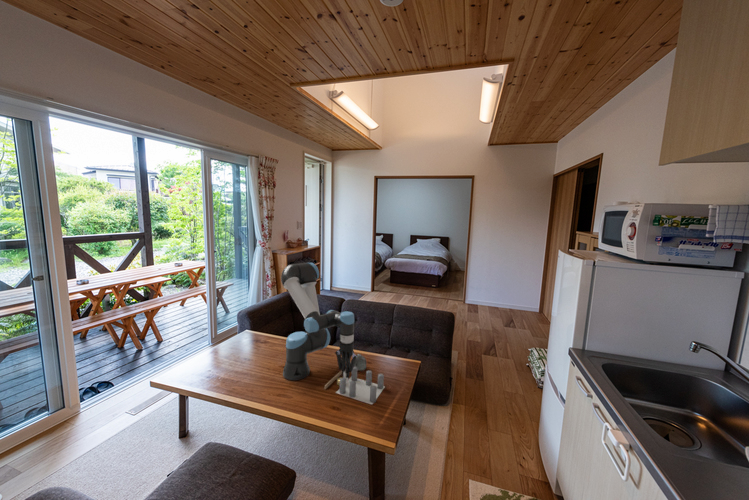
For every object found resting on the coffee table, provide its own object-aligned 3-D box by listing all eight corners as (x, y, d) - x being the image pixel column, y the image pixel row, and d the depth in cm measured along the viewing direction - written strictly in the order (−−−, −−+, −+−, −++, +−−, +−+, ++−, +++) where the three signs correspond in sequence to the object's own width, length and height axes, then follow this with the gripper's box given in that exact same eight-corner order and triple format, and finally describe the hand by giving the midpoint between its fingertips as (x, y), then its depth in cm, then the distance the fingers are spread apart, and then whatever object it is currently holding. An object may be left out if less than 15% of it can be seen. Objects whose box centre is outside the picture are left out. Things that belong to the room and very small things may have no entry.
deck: (324, 391, 151) (324, 376, 150) (340, 375, 167) (340, 362, 166) (373, 407, 140) (373, 391, 139) (386, 388, 155) (386, 374, 154)
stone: (358, 357, 168) (362, 349, 178) (345, 366, 170) (349, 357, 180) (368, 370, 168) (371, 361, 178) (355, 379, 170) (359, 370, 180)
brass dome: (335, 384, 156) (335, 380, 156) (339, 380, 160) (339, 376, 160) (341, 386, 154) (341, 382, 154) (346, 382, 158) (346, 378, 158)
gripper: (332, 341, 152) (331, 382, 155) (354, 346, 147) (352, 389, 150) (339, 336, 159) (338, 375, 162) (360, 340, 154) (359, 382, 156)
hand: (345, 382), depth 156 cm, fingers closed
